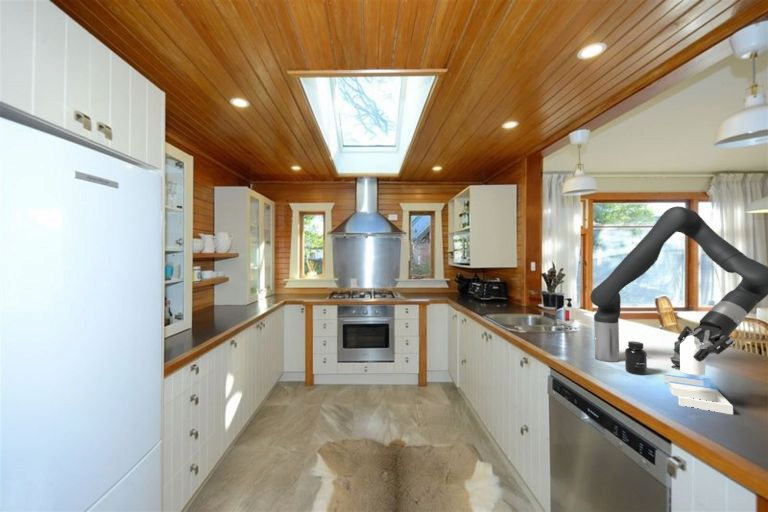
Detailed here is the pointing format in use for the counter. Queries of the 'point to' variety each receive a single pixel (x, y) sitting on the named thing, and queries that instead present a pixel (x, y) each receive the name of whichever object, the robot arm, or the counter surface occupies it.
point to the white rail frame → (698, 393)
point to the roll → (691, 356)
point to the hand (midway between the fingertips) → (687, 356)
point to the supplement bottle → (635, 358)
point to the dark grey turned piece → (676, 357)
